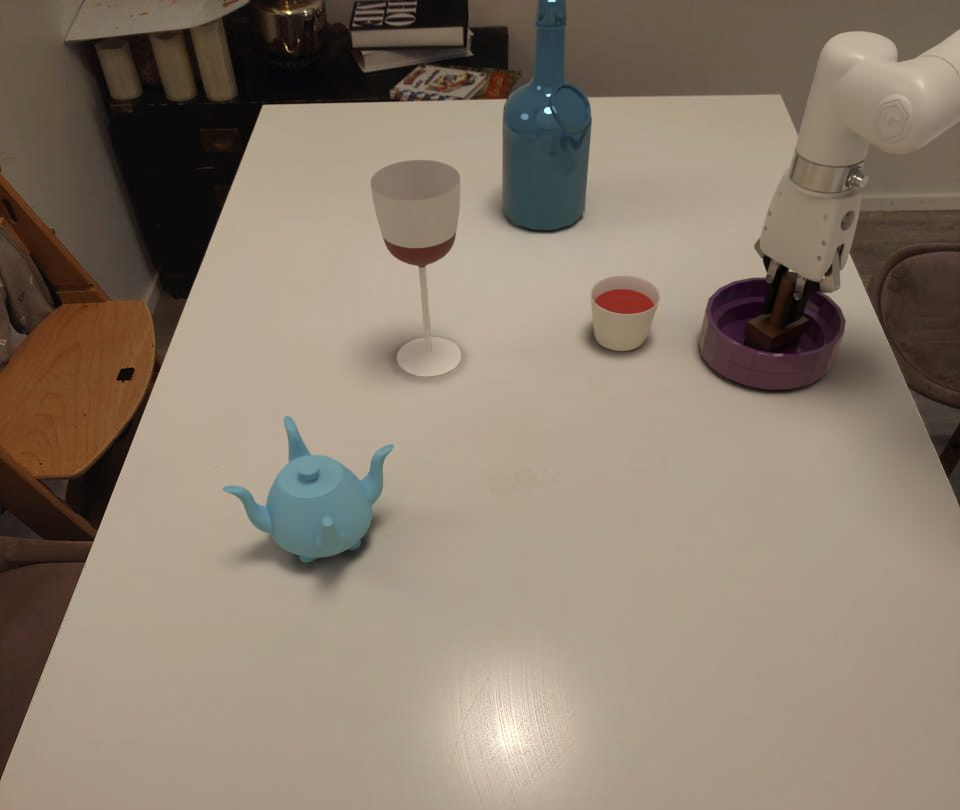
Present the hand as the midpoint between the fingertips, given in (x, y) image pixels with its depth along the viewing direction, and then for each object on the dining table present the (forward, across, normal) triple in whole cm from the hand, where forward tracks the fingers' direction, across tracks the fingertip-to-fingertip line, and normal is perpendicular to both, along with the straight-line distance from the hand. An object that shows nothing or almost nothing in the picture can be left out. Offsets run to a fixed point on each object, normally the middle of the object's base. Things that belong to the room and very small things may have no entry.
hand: (781, 315), depth 109 cm
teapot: (+5, +6, +64) cm, 65 cm away
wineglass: (+5, +26, +37) cm, 46 cm away
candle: (+5, +14, +14) cm, 21 cm away
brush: (+4, 0, 0) cm, 4 cm away
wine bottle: (+5, +46, +2) cm, 46 cm away
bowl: (+5, 0, +1) cm, 5 cm away
